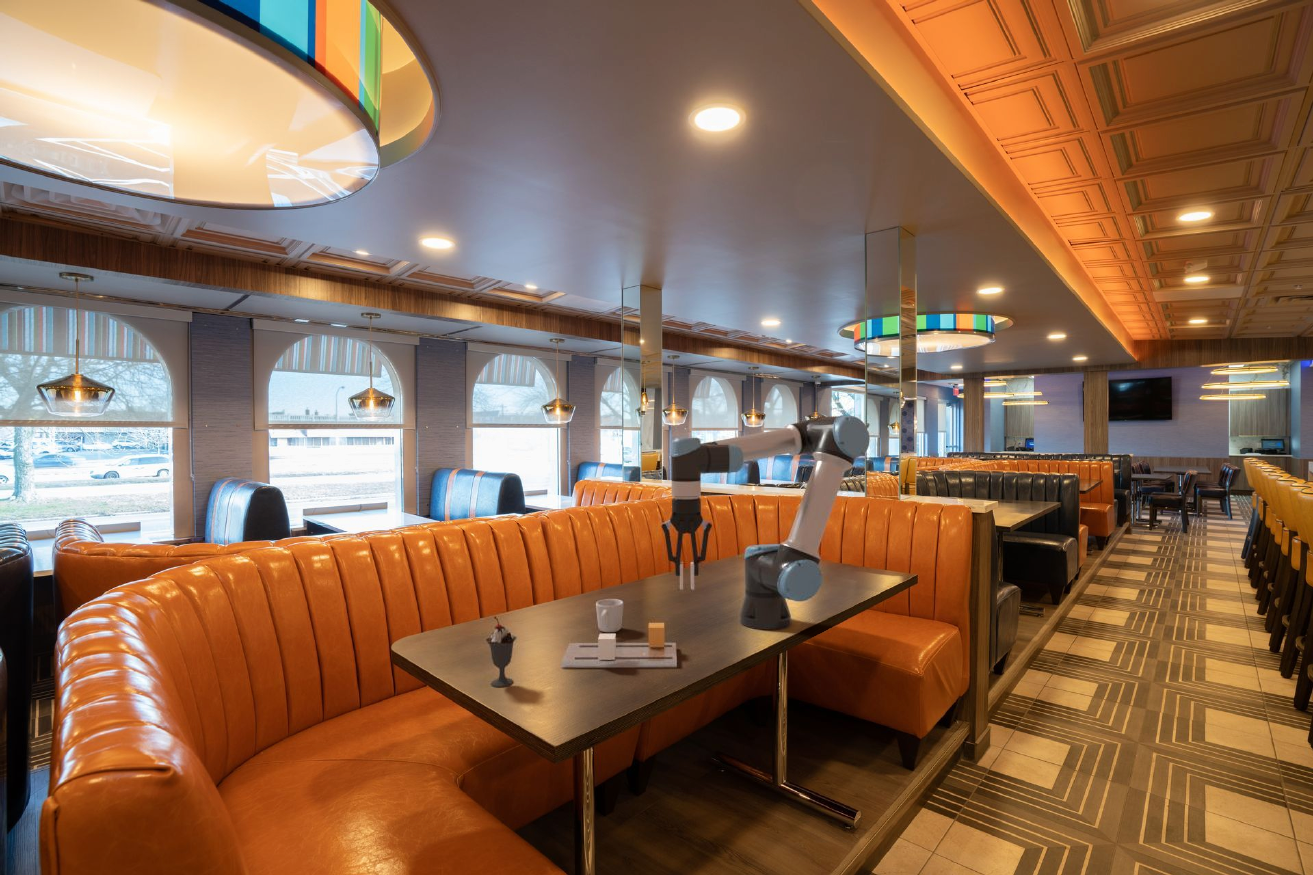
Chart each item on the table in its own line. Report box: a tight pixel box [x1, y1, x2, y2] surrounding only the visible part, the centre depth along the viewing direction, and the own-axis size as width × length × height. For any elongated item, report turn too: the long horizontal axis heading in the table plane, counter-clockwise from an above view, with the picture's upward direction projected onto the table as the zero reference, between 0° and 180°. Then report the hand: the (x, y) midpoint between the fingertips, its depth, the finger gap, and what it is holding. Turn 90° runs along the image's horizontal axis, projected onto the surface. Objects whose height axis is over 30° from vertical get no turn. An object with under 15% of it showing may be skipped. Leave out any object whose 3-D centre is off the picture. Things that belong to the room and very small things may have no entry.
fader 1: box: [597, 633, 617, 660], centre depth 150 cm, size 4×4×5 cm
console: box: [560, 642, 678, 669], centre depth 154 cm, size 28×13×2 cm, turn 89°
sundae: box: [485, 615, 517, 688], centre depth 139 cm, size 7×7×15 cm
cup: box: [595, 598, 624, 633], centre depth 175 cm, size 11×8×8 cm
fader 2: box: [648, 622, 665, 647], centre depth 158 cm, size 4×4×5 cm
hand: (687, 587), depth 158 cm, fingers open, 2 cm apart
